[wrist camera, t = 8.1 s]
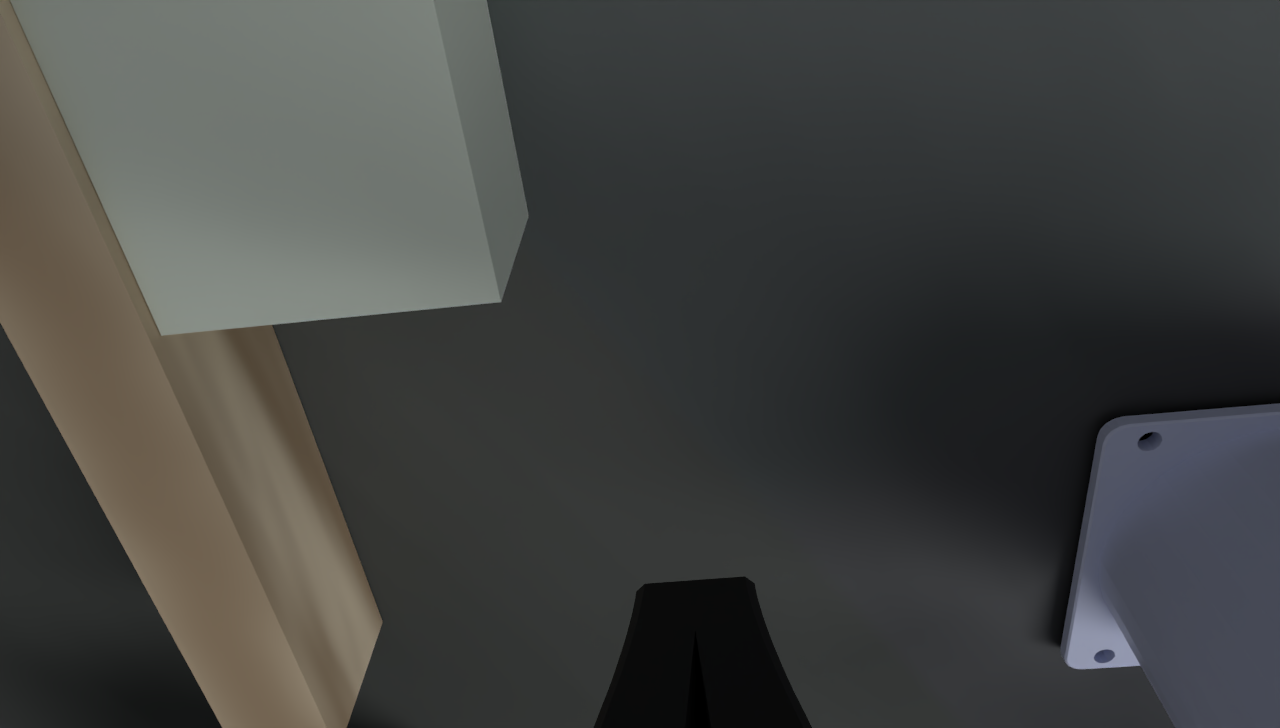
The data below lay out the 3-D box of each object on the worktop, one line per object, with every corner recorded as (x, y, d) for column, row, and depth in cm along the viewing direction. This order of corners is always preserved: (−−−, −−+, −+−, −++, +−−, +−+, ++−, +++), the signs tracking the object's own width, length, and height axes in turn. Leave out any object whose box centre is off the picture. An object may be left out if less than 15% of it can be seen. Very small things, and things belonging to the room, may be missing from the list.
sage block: (439, -256, 15) (371, -274, 11) (530, 211, 19) (501, 302, 15) (84, -203, 15) (-83, -206, 12) (250, 241, 19) (161, 335, 16)
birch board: (-13, -439, 13) (-245, -525, 10) (382, 621, 25) (337, 752, 21) (-165, -413, 14) (-443, -488, 10) (297, 627, 25) (238, 758, 21)
